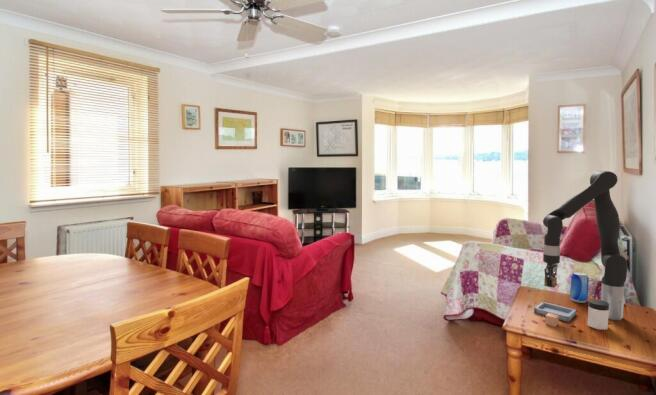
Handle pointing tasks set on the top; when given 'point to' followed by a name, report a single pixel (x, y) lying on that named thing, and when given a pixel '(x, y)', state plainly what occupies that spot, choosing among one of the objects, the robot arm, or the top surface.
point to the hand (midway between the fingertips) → (550, 285)
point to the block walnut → (554, 282)
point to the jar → (598, 314)
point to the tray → (555, 311)
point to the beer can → (579, 287)
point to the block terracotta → (552, 319)
